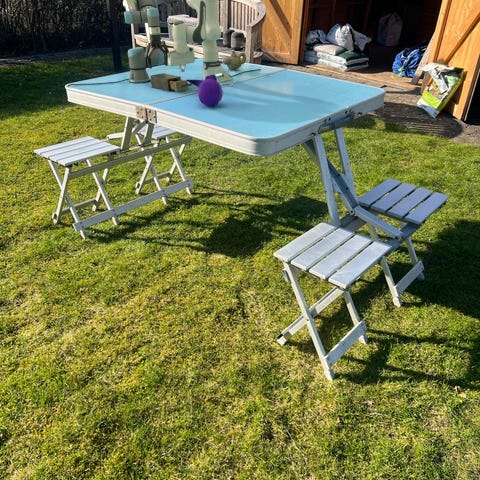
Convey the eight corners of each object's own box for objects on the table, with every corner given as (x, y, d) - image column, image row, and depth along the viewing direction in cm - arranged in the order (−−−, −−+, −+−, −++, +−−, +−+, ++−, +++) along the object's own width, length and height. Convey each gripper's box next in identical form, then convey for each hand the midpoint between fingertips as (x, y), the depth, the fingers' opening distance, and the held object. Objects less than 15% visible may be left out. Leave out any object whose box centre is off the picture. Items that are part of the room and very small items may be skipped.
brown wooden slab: (181, 88, 313) (180, 76, 309) (168, 91, 307) (167, 79, 302) (164, 84, 326) (163, 73, 322) (151, 87, 319) (150, 75, 315)
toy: (210, 97, 288) (222, 112, 267) (183, 92, 280) (194, 107, 260) (215, 72, 280) (229, 85, 259) (188, 67, 272) (200, 80, 252)
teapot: (226, 72, 363) (226, 52, 355) (220, 70, 372) (219, 50, 364) (249, 69, 372) (249, 50, 365) (242, 67, 381) (241, 48, 373)
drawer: (193, 90, 304) (192, 80, 301) (181, 92, 298) (180, 83, 295) (171, 85, 319) (170, 76, 316) (160, 87, 313) (159, 78, 310)
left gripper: (142, 36, 294) (146, 70, 305) (173, 32, 308) (175, 65, 319) (136, 35, 298) (140, 68, 309) (166, 31, 313) (169, 63, 324)
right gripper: (170, 51, 282) (172, 74, 289) (195, 48, 294) (197, 70, 301) (164, 50, 286) (166, 73, 293) (189, 47, 298) (191, 69, 305)
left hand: (158, 67), depth 314 cm, fingers open, 13 cm apart
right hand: (182, 71), depth 297 cm, fingers closed
